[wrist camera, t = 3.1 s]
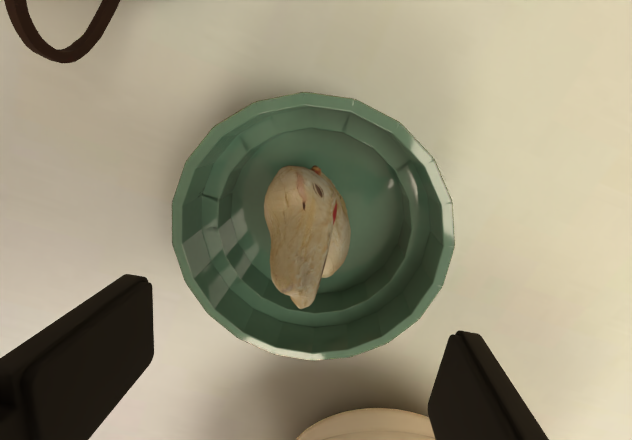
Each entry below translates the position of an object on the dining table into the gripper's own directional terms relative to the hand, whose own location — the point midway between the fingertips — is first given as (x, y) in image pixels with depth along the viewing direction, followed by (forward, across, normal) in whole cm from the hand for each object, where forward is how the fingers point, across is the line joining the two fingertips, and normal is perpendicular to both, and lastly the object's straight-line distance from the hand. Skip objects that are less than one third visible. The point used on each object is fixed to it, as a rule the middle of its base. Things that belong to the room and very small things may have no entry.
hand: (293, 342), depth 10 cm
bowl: (+13, 0, 0) cm, 13 cm away
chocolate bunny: (+13, 0, 0) cm, 13 cm away
